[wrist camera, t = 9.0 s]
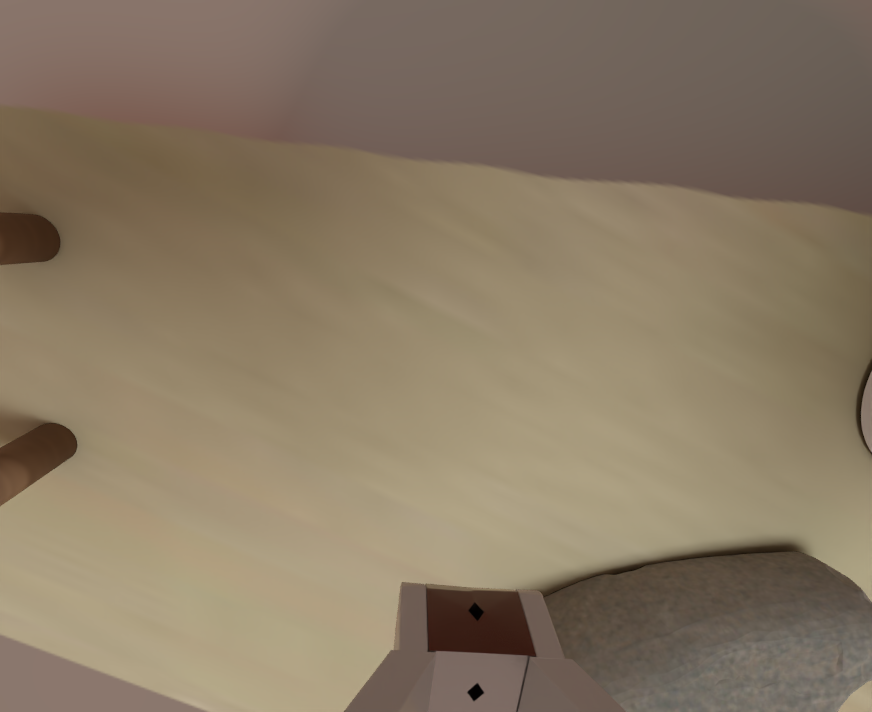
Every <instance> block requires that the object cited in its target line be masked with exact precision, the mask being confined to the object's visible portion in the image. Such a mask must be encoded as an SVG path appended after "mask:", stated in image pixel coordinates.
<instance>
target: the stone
mask: <svg viewBox="0 0 872 712" xmlns="http://www.w3.org/2000/svg"><path fill="white" fill-rule="evenodd" d="M544 601H545V604H546V607H547V609H548V612H549V615H550V618H551V621H552V624H553V626H554V629H555V632H556V635H557V638H558V640H559V643H560V646H561V649H562V652H563V654H564V657H565V659H573V660H574V661H575V662H576V663H577V664H578V665H579V666H580V667H581V668H582V669H583V670H584V671H585V672H586V673H587V674H588V675H589V676H590V677H591V678H592V679H593V680H594V681H595V682H596V683H597V684H598V685H599V686H601V687H602V688H603V689H604V690H605V691H606V692H607V693H608V694H609V695H610V696H611V697H612V698H613V699H614V700H615V701H616V702H617V703H618V704H619V705H620V706H621V707H622V708H623V709H624V710H625V711H626V712H838V710H839V709H840V707H841V706H842V705H843V703H844V702H845V701H846V700H847V698H848V697H849V696H850V695H851V694H852V693H853V692H854V691H856V690H857V689H858V688H860V687H861V686H862V685H864V684H865V683H866V682H868V681H871V680H872V602H871V601H870V600H869V598H868V597H867V595H866V594H865V593H864V592H863V590H862V589H861V588H860V587H859V586H857V585H856V584H855V583H854V582H853V581H852V580H851V579H849V578H848V577H846V576H845V575H843V574H841V573H840V572H838V571H836V570H835V569H833V568H831V567H830V566H828V565H826V564H825V563H823V562H821V561H819V560H818V559H816V558H814V557H811V556H809V555H806V554H804V553H799V552H771V553H753V554H739V555H728V556H715V557H703V558H693V559H687V560H679V561H669V562H663V563H657V564H651V565H646V566H643V567H642V568H639V569H637V570H635V571H629V572H624V573H621V574H617V575H610V574H604V575H599V576H596V577H592V578H589V579H586V580H583V581H580V582H578V583H576V584H573V585H571V586H568V587H566V588H563V589H561V590H559V591H556V592H554V593H552V594H550V595H548V596H546V597H544Z"/></svg>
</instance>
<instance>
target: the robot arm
mask: <svg viewBox="0 0 872 712" xmlns="http://www.w3.org/2000/svg"><path fill="white" fill-rule="evenodd" d="M861 424H862V431H863V435H864V438H865V441H866V443H867V445H868V447H869V449H870V451H871V452H872V372H871V374H870V376H869V379H868V381H867V384H866V387H865V391H864V395H863V400H862V407H861ZM344 712H626V711H625V710H624V709H623V708H622V707H621V706H620V705H619V704H618V703H617V702H616V701H615V700H614V699H613V698H612V697H611V696H610V695H609V694H608V693H607V692H606V691H605V690H604V689H603V688H602V687H601V686H599V685H598V684H597V683H596V682H595V681H594V680H593V679H592V678H591V677H590V676H589V675H588V674H587V673H586V672H585V671H584V670H583V669H582V668H581V667H580V666H579V665H578V664H577V663H576V662H575V661H574V660H573V659H565V657H564V654H563V652H562V649H561V646H560V643H559V640H558V638H557V635H556V632H555V629H554V626H553V624H552V621H551V618H550V615H549V612H548V609H547V607H546V604H545V601H544V598H543V595H542V594H541V593H540V591H538V590H509V589H490V588H471V587H458V586H447V585H435V584H418V583H407V582H402V583H401V587H400V595H399V604H398V612H397V620H396V629H395V640H394V650H391V651H390V652H389V654H388V655H387V656H386V658H385V659H384V660H383V662H382V663H381V664H380V665H379V667H378V668H377V669H376V671H375V672H374V673H373V674H372V676H371V677H370V678H369V680H368V681H367V682H366V684H365V685H364V686H363V687H362V689H361V690H360V691H359V693H358V694H357V695H356V697H355V698H354V699H353V700H352V702H351V703H350V704H349V706H348V707H347V708H346V710H345V711H344Z"/></svg>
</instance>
